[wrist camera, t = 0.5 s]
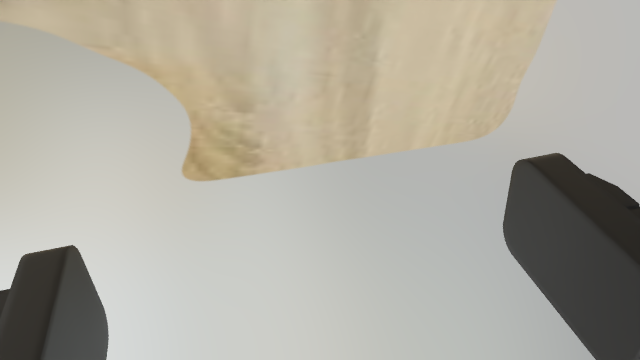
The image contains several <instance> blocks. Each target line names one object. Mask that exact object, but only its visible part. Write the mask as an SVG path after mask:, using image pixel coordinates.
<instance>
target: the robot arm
mask: <svg viewBox="0 0 640 360" xmlns="http://www.w3.org/2000/svg"><path fill="white" fill-rule="evenodd" d="M503 232H504V237H505V241H506V244H507V246H508V249H509V250H510V252H511V254H512V255H513V256H514V258H515V259H516V260H517V261H518V263H519V264H520V265H521V266H522V268H523V269H524V270H525V271H526V273H527V274H528V275H529V276H530V278H531V279H532V280H533V281H534V283H535V284H536V285H537V287H538V288H539V289H540V290H541V292H542V293H543V294H544V295H545V297H546V298H547V299H548V300H549V301H550V303H551V304H552V305H553V307H554V308H555V309H556V310H557V312H558V313H559V314H560V315H561V317H562V318H563V319H564V320H565V322H566V323H567V324H568V325H569V327H570V328H571V329H572V330H573V332H574V333H575V334H576V335H577V336H578V338H579V339H580V340H581V342H582V343H583V344H584V346H585V347H586V348H587V349H588V351H589V352H590V353H591V354H592V356H593V357H594V358H595V359H596V360H640V207H639V203H637V202H636V201H635V200H634V199H632V198H631V197H630V196H629V195H627V194H626V193H625V192H624V191H623V190H621V189H620V188H619V187H618V186H615V185H613V184H611V183H608V182H607V181H605V180H602V179H600V178H598V177H596V176H593V175H591V174H585V173H584V172H583V171H582V170H581V169H579V168H578V167H577V166H576V165H574V164H573V163H572V162H571V161H570V160H569V159H567V158H566V157H565V156H563V155H562V154H559V153H553V154H549V155H543V156H538V157H533V158H528V159H522V160H519V161H517V162H516V163H515V165H514V167H513V170H512V175H511V181H510V187H509V192H508V198H507V204H506V210H505V216H504V222H503ZM107 349H108V325H107V319H106V314H105V310H104V307H103V305H102V302H101V300H100V298H99V296H98V293H97V291H96V289H95V286H94V284H93V282H92V280H91V277H90V275H89V273H88V271H87V268H86V266H85V264H84V261H83V259H82V257H81V254H80V252H79V251H78V249H77V248H76V247H75V246H73V245H71V246H66V247H61V248H55V249H51V250H45V251H40V252H34V253H29V254H25V255H24V256H23V257H22V258H21V260H20V262H19V265H18V268H17V271H16V274H15V277H14V279H13V282H12V285H11V288H10V289H7V290H3V291H0V360H106V357H107Z"/></svg>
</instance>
